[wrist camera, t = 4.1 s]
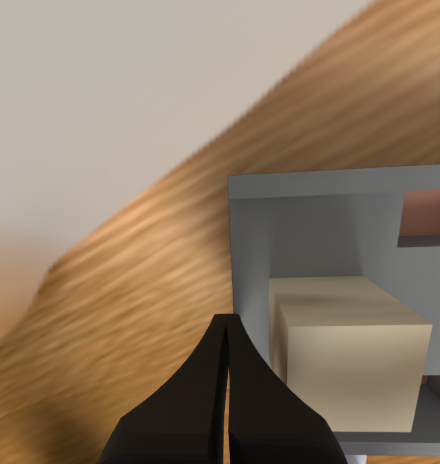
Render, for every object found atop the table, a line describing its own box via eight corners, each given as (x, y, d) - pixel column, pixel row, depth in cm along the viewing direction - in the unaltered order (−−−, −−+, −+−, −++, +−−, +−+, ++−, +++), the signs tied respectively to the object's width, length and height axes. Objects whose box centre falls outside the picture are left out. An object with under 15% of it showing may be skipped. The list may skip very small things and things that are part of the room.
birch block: (354, 354, 13) (410, 431, 9) (268, 355, 13) (285, 430, 9) (363, 275, 11) (432, 324, 8) (268, 278, 12) (288, 326, 8)
